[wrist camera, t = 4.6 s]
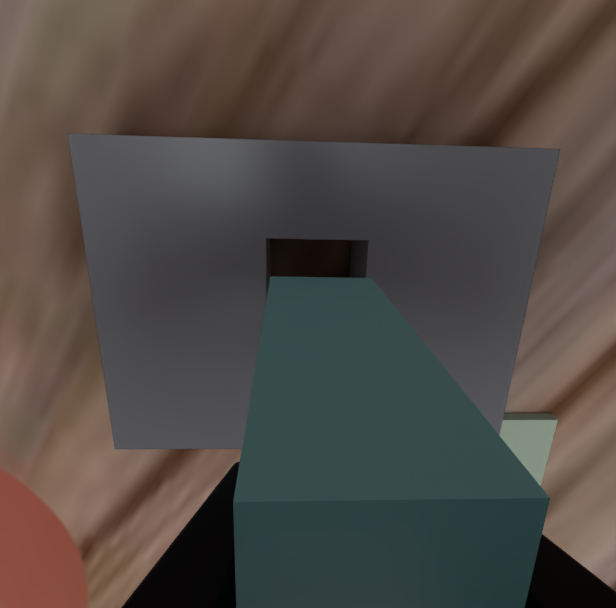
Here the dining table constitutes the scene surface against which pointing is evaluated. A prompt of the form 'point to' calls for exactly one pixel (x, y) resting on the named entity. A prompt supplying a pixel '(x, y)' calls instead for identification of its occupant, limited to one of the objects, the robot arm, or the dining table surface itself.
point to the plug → (372, 467)
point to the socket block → (294, 225)
